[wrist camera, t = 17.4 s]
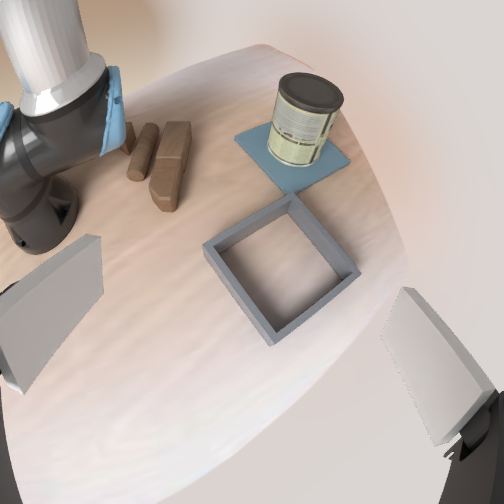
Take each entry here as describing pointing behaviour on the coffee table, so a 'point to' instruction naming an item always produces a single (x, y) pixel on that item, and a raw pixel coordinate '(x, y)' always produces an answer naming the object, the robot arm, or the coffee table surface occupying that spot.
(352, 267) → the bin
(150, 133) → the wooden block set
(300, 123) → the coffee can
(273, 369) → the coffee table surface
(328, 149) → the board
